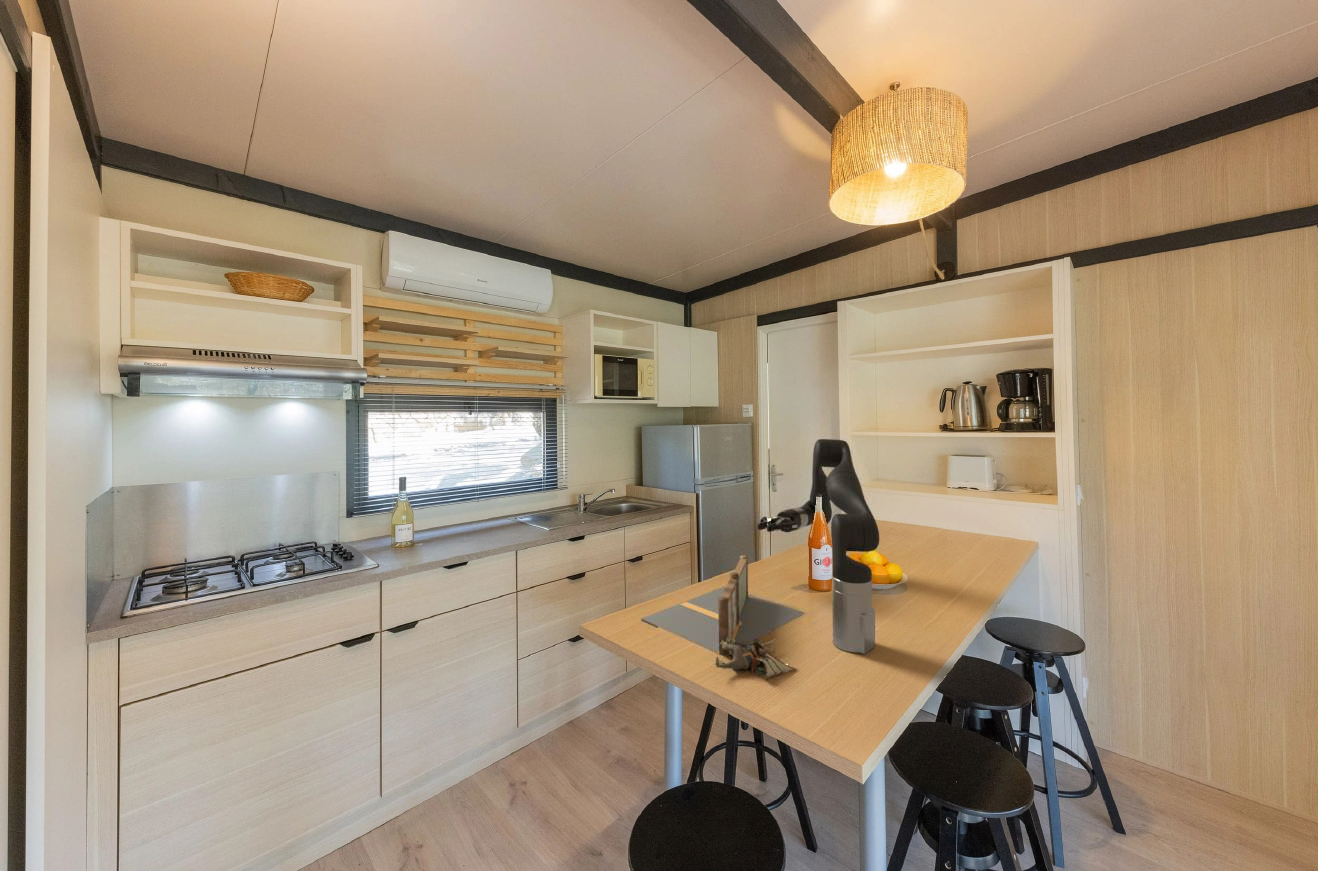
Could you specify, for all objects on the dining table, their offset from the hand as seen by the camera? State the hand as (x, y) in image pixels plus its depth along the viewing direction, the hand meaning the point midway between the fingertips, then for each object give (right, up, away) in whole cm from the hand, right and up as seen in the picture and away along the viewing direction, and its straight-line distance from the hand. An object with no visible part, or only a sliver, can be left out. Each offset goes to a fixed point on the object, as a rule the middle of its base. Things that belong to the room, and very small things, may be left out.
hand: (763, 527), depth 157 cm
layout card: (-15, -23, -17) cm, 32 cm away
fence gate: (-9, -22, -11) cm, 26 cm away
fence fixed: (-15, -23, -30) cm, 41 cm away
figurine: (-11, -25, -45) cm, 53 cm away
